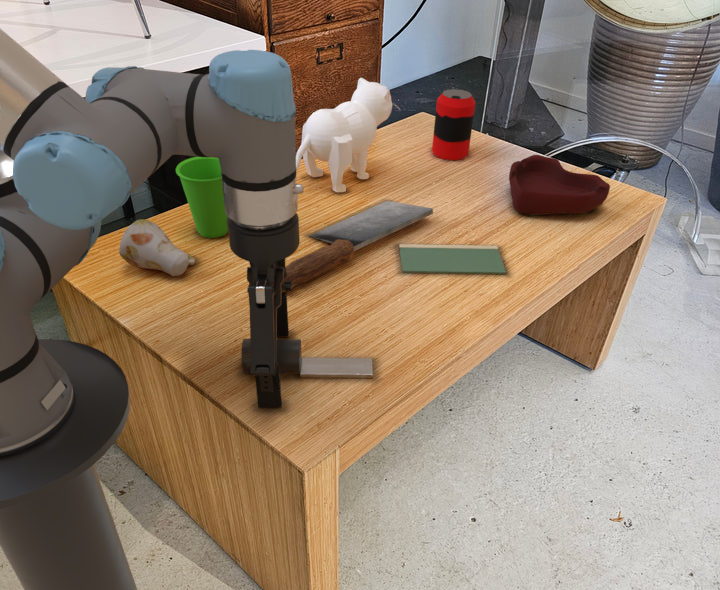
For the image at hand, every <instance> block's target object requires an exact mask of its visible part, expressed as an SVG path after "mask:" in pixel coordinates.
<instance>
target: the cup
mask: <svg viewBox="0 0 720 590" xmlns="http://www.w3.org/2000/svg"><path fill="white" fill-rule="evenodd" d="M175 173H176V175H177V176H178V177H179V180H180V182H181V187H182V189H183V192H184V195H185V198H186V201H187V204H188V207H189V209H190V214H191V217H192V219H193V222H194V225H195V228H196V231H197V233H198V234H199V235H200V236H202V237H204V238H206V239H207V238H208V239H216V238H220V237H223V236H225V235H227V234H228V227H227V218H228V216H227V215H226V213H225V206H224V197H223V188H222V179H221V167H220V162H219V159H218V158H214V157H209V158H206V157H196V156H192V157H190V158H187V159H184V160H183V161H181V162H179V163H178V164H177V166H176V168H175Z"/></svg>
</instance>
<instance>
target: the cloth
mask: <svg viewBox="0 0 720 590" xmlns="http://www.w3.org/2000/svg"><path fill="white" fill-rule="evenodd" d="M398 250H399V257H400V265H401V273H403V274H442V275H443V274H451V275H452V274H456V275H464V274H465V275H507V271H506V268H505V265H504V262H503V259H502V255H501V253H500V250H499V247H498V245H487V244H486V245H483V244H482V245H481V244H479V245H478V244H422V243H421V244H417V243H416V244H415V243H412V244H411V243H409V244H408V243H406V244H405V243H399V244H398Z"/></svg>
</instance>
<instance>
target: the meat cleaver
mask: <svg viewBox="0 0 720 590" xmlns="http://www.w3.org/2000/svg"><path fill="white" fill-rule="evenodd" d="M433 214H434V208H432V207H426V206H421V205H416V204H415V205H414V204H408V203H403V202H396V201H391V200H385V201H383V202H381V203H378V204H377V205H375V206H372V207H370V208H368V209H365V210H363V211H361V212H359V213H356V214H354V215H352V216H349V217H347V218H346V219H343V220H341V221H338V222H337V223H334V224H332V225H330V226H327V227H325V228H323V229H321V230H319V231H316V232H314V233H312V234H309V237H310V238H314V239H317V240H320V241H323V242H326V243H327V244H328V243H329V244H330V245H326V246H323V247H320V248H318V249H316V250H314V251H312V252H310V253H308V254H306V255H303V256H302V257H299V258H298V259H295V260H293V261H291V262H290V263H289V264H287V265H285V266H286V272H287V276H286V279H285V282H291V284H292V288H293V287H294V286H295V285H302V284H304V283H306V282H308V281H310V280H312V279H314V278H316V277H318V276H320V275H322V274H324V273H326V272H328V271H330V270H331V269H333V268H335V267H337V266H338V265H339V264H344V263H348V262H349V261H350V259H351V258H352V257H353V255H354V253H355V251H357V250H360V249H361V248H364V247H366V246H368V245H370V244H372V243H375V242H376V241H378V240H381V239H383V238H385V237H386V236H389V235H391V234H393V233H395V232H398V231H400V230H401V229H404V228H405V227H408V226H410V225H412V224H414V223H416V222H419V221H421V220H423V219H426V218H427V217H428V216H431V215H433Z"/></svg>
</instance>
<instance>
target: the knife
mask: <svg viewBox="0 0 720 590" xmlns="http://www.w3.org/2000/svg"><path fill="white" fill-rule="evenodd" d="M240 350H241V351H240V362H241V370H242V373H243V374H251V372H250V369H247V365H246V364H251V341H250V338H243V339H242V342H241V349H240ZM277 361H279V373H280V374H299V377H300V378H321V379H323V378H324V379H325V378H326V379H327V378H330V379H334V378H337V379H338V378H339V379H373V378H374V371H373V370H374V369H373V358H372V357H302V340H301V339H300V338H296V339H295V338H277Z"/></svg>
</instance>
